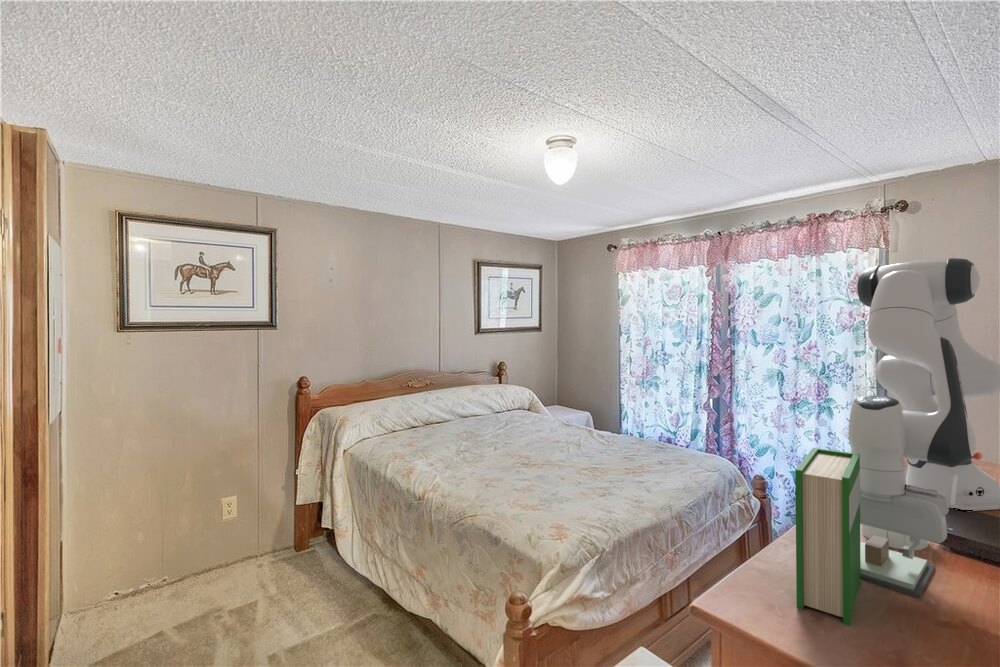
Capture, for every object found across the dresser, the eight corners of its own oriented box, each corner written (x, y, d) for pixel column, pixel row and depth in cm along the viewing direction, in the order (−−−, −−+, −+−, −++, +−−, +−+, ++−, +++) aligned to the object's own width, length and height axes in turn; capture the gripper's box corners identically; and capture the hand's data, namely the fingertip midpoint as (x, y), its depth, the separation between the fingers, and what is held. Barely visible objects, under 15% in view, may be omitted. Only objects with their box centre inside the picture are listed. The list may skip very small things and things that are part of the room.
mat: (843, 542, 104) (843, 539, 104) (934, 568, 93) (934, 565, 93) (820, 565, 95) (820, 562, 95) (919, 598, 83) (919, 594, 83)
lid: (847, 542, 103) (847, 522, 103) (927, 565, 93) (926, 542, 93) (828, 563, 95) (827, 540, 95) (913, 590, 85) (913, 565, 85)
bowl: (901, 528, 111) (901, 502, 111) (940, 550, 100) (940, 522, 100) (851, 527, 112) (851, 502, 112) (884, 549, 101) (884, 521, 101)
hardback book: (850, 625, 76) (849, 478, 76) (796, 608, 81) (795, 469, 81) (860, 579, 89) (859, 453, 89) (813, 567, 94) (812, 447, 94)
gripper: (951, 488, 87) (951, 562, 88) (822, 465, 103) (823, 527, 104) (945, 497, 83) (946, 574, 84) (812, 471, 99) (813, 536, 99)
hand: (877, 548), depth 94 cm, fingers open, 8 cm apart
